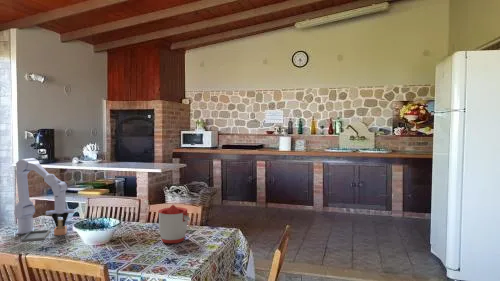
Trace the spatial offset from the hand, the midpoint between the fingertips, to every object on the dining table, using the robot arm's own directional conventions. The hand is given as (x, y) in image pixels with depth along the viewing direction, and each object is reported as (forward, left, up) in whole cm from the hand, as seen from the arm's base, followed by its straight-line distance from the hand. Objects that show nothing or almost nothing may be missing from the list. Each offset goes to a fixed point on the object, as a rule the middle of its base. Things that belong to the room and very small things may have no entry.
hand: (60, 226), depth 210 cm
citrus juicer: (+32, +62, -5) cm, 70 cm away
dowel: (0, 0, -4) cm, 4 cm away
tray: (+2, -12, -5) cm, 13 cm away
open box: (0, 0, -5) cm, 5 cm away
